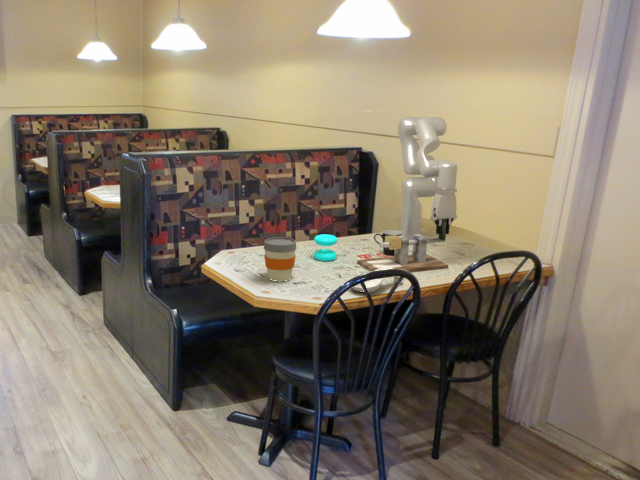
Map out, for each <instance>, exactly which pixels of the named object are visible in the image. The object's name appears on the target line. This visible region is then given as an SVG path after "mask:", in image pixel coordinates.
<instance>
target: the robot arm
mask: <svg viewBox="0 0 640 480" xmlns="http://www.w3.org/2000/svg"><path fill="white" fill-rule="evenodd" d="M446 132H447V123H446V121H445V119H444V118H443V117H441V116H436V117H435V116H409V117H408V116H406V117H403V118H401V119H400V120H399V121H398V125H397V134H398V139H399V142H400V145H401V151H402V153H401V154H402V166H403V167H402V168H403V171H404V173H405V174H406V175H411V176H412V177H406V178H404V179H403V180H402V182H401V185H400V186H401V198H402V199H401V200H402V203H401V215H400V216H401V218H400V230H398V231H399V232H401V233H402V234H401V236H403V237H406V238H408V239H409V240H413V237H414V235H416V234H420V235H421V225H422V224H421V223H422V209H423V206H422V203H421V202H420V200H419V199H418V198H430V197H431V198H432V197H433V200H432V205H431V212H430V213H431V214H430V218H429V220H430V221H432V222H433V223H435V233H436V234H437V235H438V236H439V235H441V234H442V226H441V223H442V219H447V227H446V235H449V233H450V226H451V225H452V223H453V221H455V220H456V219H457V218H458V216H457V195H456V193H457V192H458V189H457V187H456V186H457V185H456V184H457V176H458V175H457V173H458V165H457V163H454V162H452V161H450V160H448V159H435V157H434V156H432V155H430V153H433V152H434V151H436V150H437V149H438V148H439V147H440V145H441V139H440V137H441V136H444V135H445V134H446ZM414 136H417V138H418V140H417V139H416V138H415V137H414ZM416 175H417V176H416ZM419 175H421V176H420V177H418V176H419ZM413 176H414V177H413Z"/></svg>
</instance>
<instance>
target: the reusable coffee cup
mask: <svg viewBox="0 0 640 480" xmlns="http://www.w3.org/2000/svg"><path fill="white" fill-rule="evenodd" d="M263 250H264V253H265V254H264V256H263V258H264V264H265V268H266V272H267V279H268V278H269V279H272V280H277V281H285V280H289V279H291V280H292V275H293V269H294V267H295V262H296V250H297V242H296V240H295V239H293V238H291V237H284V236H283V237H282V236H281V237H280V236H278V237H277V236H275V237H274V236H273V237H269V238H266V239H264V243H263ZM269 279H268V280H269ZM289 281H290V280H289Z"/></svg>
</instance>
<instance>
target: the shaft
mask: <svg viewBox="0 0 640 480" xmlns="http://www.w3.org/2000/svg"><path fill="white" fill-rule="evenodd" d="M441 226H442V234H441V235H439V234H438V237H431V238H428V237H427V244H433V243H434V244H435V243H444V242H445V241H446V236H447V234H446V227H447V219H442V223H441ZM414 244H419V239H417V240H409V246H413V245H414ZM389 245H390V243H388V242H383V241H382V242H379V244H378V246H379V248H382V249H383V247H389Z"/></svg>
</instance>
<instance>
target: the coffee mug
mask: <svg viewBox="0 0 640 480" xmlns="http://www.w3.org/2000/svg"><path fill="white" fill-rule="evenodd" d="M399 231H400V230H393V229H386V230H383V231H382V232H381V233H376V234H374V236H373V239H374V241H375V243H377V244H378V245H379V243H380V242H379V241H378V240H377V239H376V236H380V237H381V238H382V243H383V242H385V236H391V235H396V236H401V234H402V233H401V232H399ZM382 250H383V255H385V256H387V257H393V256H394V252H395V250H390V249H389V247H382Z"/></svg>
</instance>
